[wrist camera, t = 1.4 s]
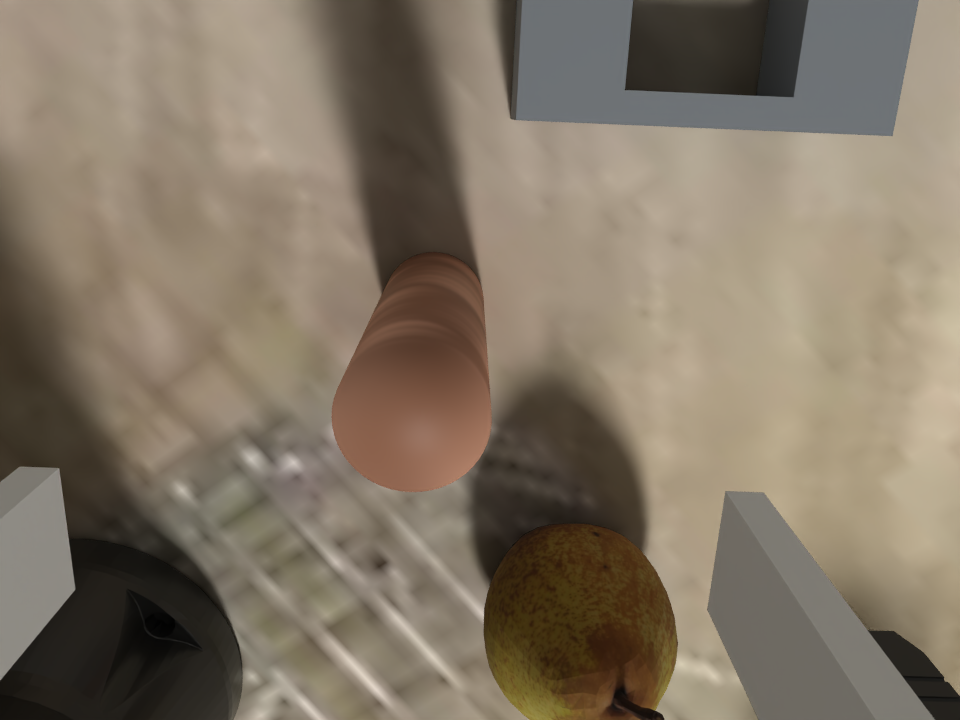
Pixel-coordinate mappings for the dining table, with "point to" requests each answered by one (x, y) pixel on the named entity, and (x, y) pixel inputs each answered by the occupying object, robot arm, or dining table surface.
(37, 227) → the dining table surface
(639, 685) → the fruit
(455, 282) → the peg
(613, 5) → the socket block
